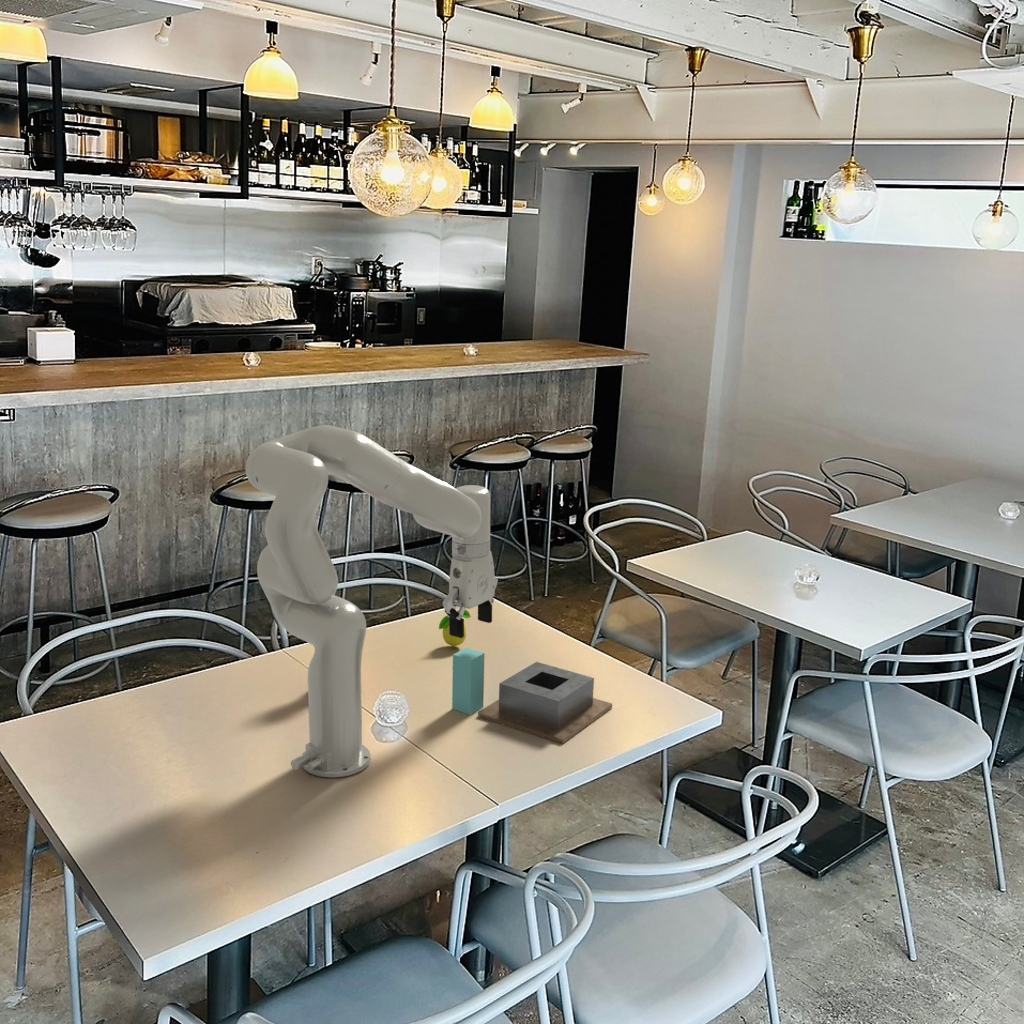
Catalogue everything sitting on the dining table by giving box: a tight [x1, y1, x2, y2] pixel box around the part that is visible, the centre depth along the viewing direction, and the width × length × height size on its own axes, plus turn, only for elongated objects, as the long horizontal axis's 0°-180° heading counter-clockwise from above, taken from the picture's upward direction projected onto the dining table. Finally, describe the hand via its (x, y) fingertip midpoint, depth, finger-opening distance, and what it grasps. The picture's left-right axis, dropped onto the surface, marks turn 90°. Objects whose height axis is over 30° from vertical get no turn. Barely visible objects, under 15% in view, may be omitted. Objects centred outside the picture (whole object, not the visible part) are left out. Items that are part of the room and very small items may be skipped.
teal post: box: [451, 647, 485, 716], centre depth 217 cm, size 5×5×12 cm
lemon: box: [438, 609, 472, 648], centre depth 249 cm, size 7×6×10 cm
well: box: [477, 661, 613, 745], centre depth 217 cm, size 20×20×7 cm
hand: (471, 628), depth 215 cm, fingers open, 9 cm apart
